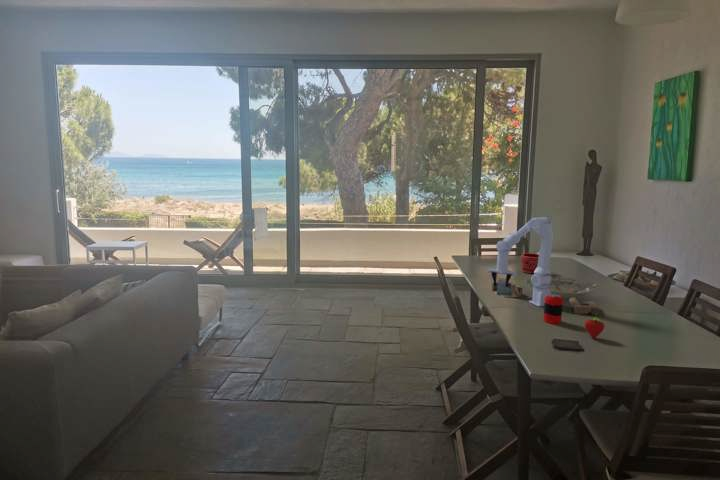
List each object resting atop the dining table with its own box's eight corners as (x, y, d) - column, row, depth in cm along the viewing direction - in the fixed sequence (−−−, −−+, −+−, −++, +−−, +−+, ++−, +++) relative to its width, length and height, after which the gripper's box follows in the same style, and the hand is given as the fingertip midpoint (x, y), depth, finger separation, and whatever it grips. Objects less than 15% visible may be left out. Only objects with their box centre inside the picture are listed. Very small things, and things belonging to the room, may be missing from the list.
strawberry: (581, 334, 203) (583, 311, 201) (600, 336, 202) (602, 312, 200) (585, 339, 197) (587, 316, 196) (605, 341, 196) (607, 317, 195)
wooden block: (599, 308, 230) (591, 298, 247) (575, 306, 232) (569, 296, 249) (599, 315, 230) (591, 305, 247) (574, 313, 233) (568, 303, 250)
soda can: (550, 324, 215) (552, 298, 214) (539, 319, 223) (541, 294, 221) (564, 323, 217) (567, 297, 216) (553, 318, 225) (555, 293, 223)
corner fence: (521, 295, 263) (522, 287, 263) (502, 296, 261) (502, 288, 261) (510, 289, 276) (511, 282, 275) (491, 290, 274) (492, 282, 273)
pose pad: (494, 292, 270) (494, 291, 270) (509, 291, 272) (509, 291, 272) (502, 297, 260) (502, 296, 260) (518, 296, 261) (518, 296, 261)
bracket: (498, 286, 273) (498, 278, 271) (513, 287, 270) (513, 279, 268) (496, 294, 265) (497, 286, 263) (512, 295, 262) (512, 287, 260)
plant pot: (515, 271, 326) (517, 253, 324) (530, 269, 332) (532, 252, 330) (530, 275, 314) (531, 257, 313) (545, 273, 320) (546, 256, 318)
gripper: (487, 262, 264) (485, 286, 267) (515, 265, 259) (513, 290, 261) (489, 260, 271) (487, 283, 273) (516, 263, 265) (514, 287, 268)
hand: (500, 286), depth 268 cm, fingers open, 5 cm apart
